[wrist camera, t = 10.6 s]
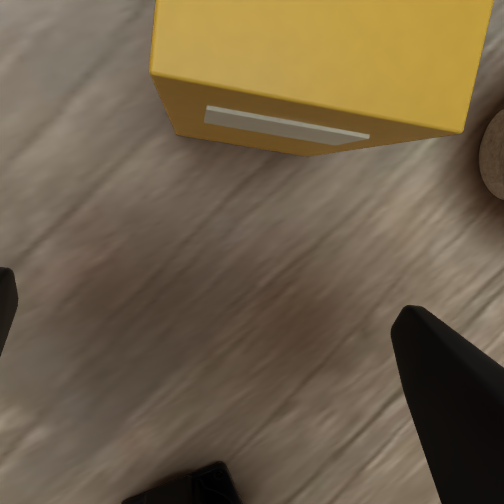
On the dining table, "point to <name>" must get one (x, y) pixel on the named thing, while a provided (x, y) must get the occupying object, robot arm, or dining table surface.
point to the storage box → (317, 70)
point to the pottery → (493, 156)
